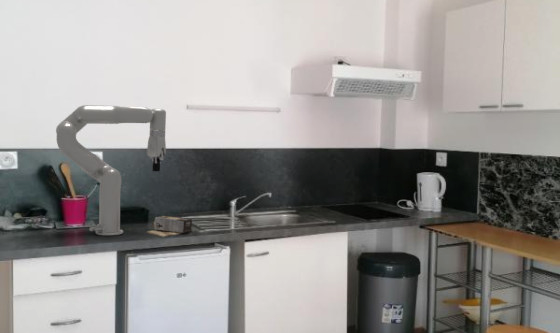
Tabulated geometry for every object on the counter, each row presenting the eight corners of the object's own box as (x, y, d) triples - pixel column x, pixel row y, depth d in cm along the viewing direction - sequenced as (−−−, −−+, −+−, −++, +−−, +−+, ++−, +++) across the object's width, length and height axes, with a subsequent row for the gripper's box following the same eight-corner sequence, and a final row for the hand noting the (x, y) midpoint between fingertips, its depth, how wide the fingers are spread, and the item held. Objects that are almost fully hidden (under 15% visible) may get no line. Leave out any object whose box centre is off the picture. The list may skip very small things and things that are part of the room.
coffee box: (163, 215, 270) (192, 218, 266) (162, 227, 270) (191, 231, 266) (154, 217, 261) (185, 220, 257) (153, 229, 261) (184, 233, 257)
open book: (162, 236, 251) (162, 235, 251) (146, 232, 259) (146, 231, 259) (181, 233, 259) (181, 232, 259) (165, 229, 268) (165, 228, 267)
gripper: (142, 133, 264) (141, 170, 265) (159, 134, 253) (158, 172, 254) (155, 133, 269) (154, 169, 270) (172, 135, 259) (171, 172, 260)
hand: (156, 171), depth 262 cm, fingers closed
